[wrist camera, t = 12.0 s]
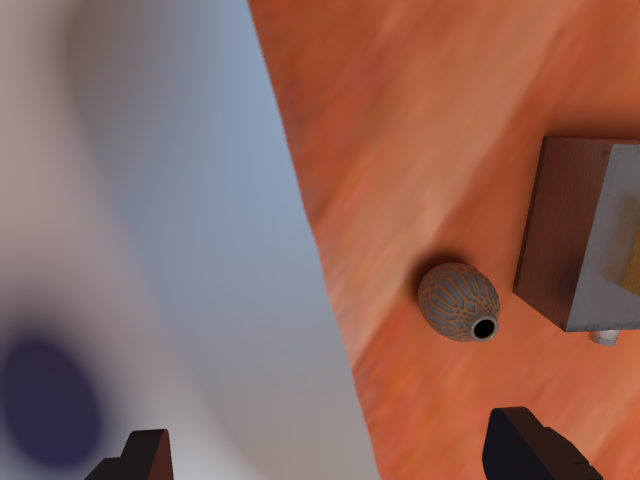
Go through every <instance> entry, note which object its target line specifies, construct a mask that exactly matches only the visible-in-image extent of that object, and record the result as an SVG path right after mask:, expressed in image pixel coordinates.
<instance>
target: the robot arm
mask: <svg viewBox="0 0 640 480" xmlns="http://www.w3.org/2000/svg"><path fill="white" fill-rule="evenodd" d="M482 463H483V468H484V472H485V475H486V478H487V480H603V477H602V476H601V475H600V474H599V473H598V472H597V470H596V469H595V468H594V467H593V466H590V465H589V462H588V460H587V459H586V458H585V457H584V456H583V455H582V454H581V453H580V452H579V450H578V449H577V448H576V447H575V446H574V445H573V444H572V443H571V442H570V441H568V440H567V439H566V438H564V437H563V436H561V435H560V434H559V433H557V432H556V431H554V430H553V429H551V428H550V427H543V425H542V424H541V423H540V422H539V421H538V420H537V418H536V417H535V416H534V415H533V414H532V413H531V412H530V410H529V409H527V408H526V407H522V406H521V407H506V408H494V409H493V410H492V411H491V414H490V418H489V423H488V428H487V433H486V438H485V443H484V448H483V453H482ZM84 480H174V478H173V469H172V459H171V451H170V440H169V433H168V430H167V429H154V430H140V431H132V433H131V434H130V435H129V438H128V440H127V442H126V445H125V447H124V449H123V452H122V454H121V456H120V457H116V458H104V459H103V460H102V461H101V462H100V463H99V464H98V465H97V466H96V467H95V468H94V470H93V471H92V472H91V473H90V474H89V475H88V476H87V477H86V478H85V479H84Z"/></svg>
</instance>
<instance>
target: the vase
mask: <svg viewBox="0 0 640 480" xmlns="http://www.w3.org/2000/svg"><path fill="white" fill-rule="evenodd" d="M418 304H419V308H420V311H421V313H422V315H423V317H424V318H425V320H426V321H427V323H428V324H429V325H430V326H431V327H432V328H433V329H434V330H435V331H436V332H438V333H439V334H441V335H442V336H444V337H446V338H449V339H451V340H455V341H461V342H467V341H478V342H485V341H488V340H490V339H492V338H493V337H494V336H495V335H496V333H497V331H498V317H499V313H500V302H499V298H498V295H497V292H496V290H495V288H494V286H493V285H492V283H491V282H490V281H489V279H488V278H487V277H486V276H485V275H484V274H482V273H481V272H480V271H478V270H477V269H475V268H473V267H471V266H469V265H466V264H462V263H455V262H451V263H443V264H440V265H438V266H436V267H434V268H432V269H431V270H430V271H429V272H427V273H426V275H425V276H424V277H423V279H422V280H421V282H420V285H419V289H418Z"/></svg>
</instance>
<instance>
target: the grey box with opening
mask: <svg viewBox="0 0 640 480" xmlns="http://www.w3.org/2000/svg"><path fill="white" fill-rule="evenodd" d="M513 293H514V294H516V295H517V296H518V297H520V298H521V299H522V300H523V301H525V302H526V303H527V304H529V305H530V306H531V307H533V308H534V309H535V310H537V311H538V312H539V313H541V314H542V315H543V316H544V317H546V318H547V319H548V320H550V321H551V322H552V323H554V324H555V325H556V326H558V327H559V328H560V329H562V330H563V331H564V332H584V331H589V333H588V337H589V339H590V340H592V341H594V342H595V343H598V344H601V345H604V346H615V345H616V342H617V339H618V336H619V333H620V330H634V329H640V139H612V138H575V137H544V138H543V143H542V148H541V153H540V158H539V163H538V168H537V173H536V178H535V183H534V188H533V193H532V198H531V203H530V208H529V213H528V218H527V223H526V228H525V233H524V238H523V243H522V247H521V252H520V257H519V262H518V267H517V272H516V277H515V282H514V287H513Z"/></svg>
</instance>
